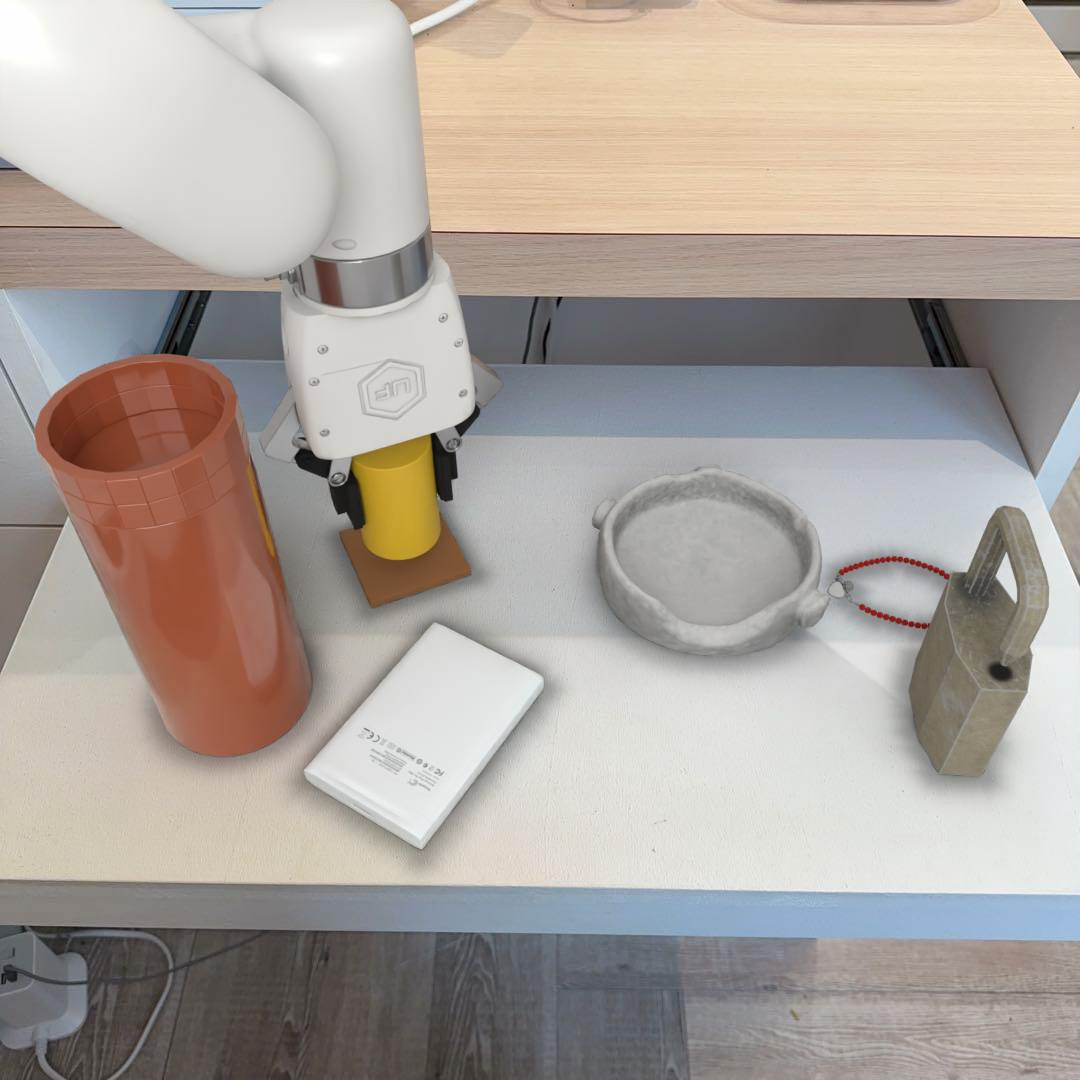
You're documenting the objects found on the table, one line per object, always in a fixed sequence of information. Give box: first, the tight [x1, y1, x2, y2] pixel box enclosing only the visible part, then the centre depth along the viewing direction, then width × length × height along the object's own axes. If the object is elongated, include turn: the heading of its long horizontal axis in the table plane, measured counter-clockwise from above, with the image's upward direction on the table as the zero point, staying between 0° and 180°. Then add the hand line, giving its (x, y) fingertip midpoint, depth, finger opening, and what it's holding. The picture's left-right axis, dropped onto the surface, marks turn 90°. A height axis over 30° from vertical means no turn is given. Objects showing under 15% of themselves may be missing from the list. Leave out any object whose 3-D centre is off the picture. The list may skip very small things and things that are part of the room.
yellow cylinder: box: [350, 434, 441, 560], centre depth 69 cm, size 5×5×8 cm
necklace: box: [827, 555, 950, 630], centre depth 70 cm, size 9×6×1 cm
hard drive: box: [303, 622, 545, 850], centre depth 63 cm, size 2×8×12 cm
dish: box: [591, 463, 831, 657], centre depth 69 cm, size 14×14×5 cm
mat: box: [338, 511, 472, 609], centre depth 73 cm, size 7×7×1 cm
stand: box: [33, 353, 313, 757], centre depth 57 cm, size 9×9×22 cm
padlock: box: [908, 505, 1050, 778], centre depth 59 cm, size 4×8×15 cm, turn 176°
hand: (396, 499), depth 69 cm, fingers closed on yellow cylinder, 5 cm apart
